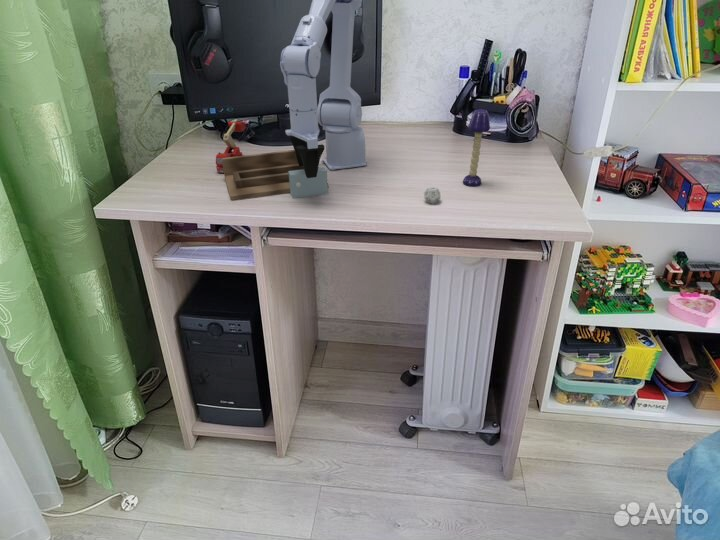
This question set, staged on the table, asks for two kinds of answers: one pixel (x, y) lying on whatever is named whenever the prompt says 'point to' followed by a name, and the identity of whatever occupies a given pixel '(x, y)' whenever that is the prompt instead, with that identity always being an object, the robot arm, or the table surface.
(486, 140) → the table surface
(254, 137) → the table surface
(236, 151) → the toy fire truck
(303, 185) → the grey-blue rectangular block
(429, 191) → the game die
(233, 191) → the track base
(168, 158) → the table surface
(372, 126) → the table surface
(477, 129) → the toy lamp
